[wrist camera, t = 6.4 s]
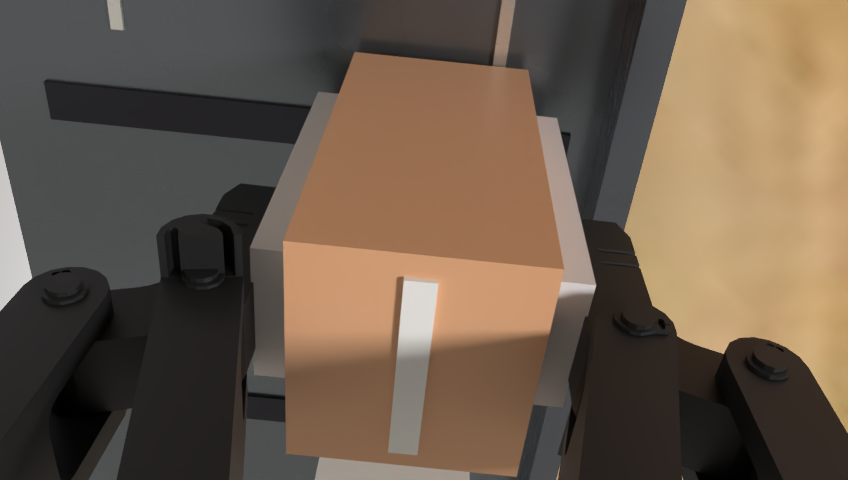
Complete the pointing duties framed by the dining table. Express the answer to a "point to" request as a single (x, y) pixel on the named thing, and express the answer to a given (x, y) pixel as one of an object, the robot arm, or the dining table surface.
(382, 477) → the fader ivory
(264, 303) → the robot arm
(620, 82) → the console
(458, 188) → the fader terracotta
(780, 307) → the dining table surface
